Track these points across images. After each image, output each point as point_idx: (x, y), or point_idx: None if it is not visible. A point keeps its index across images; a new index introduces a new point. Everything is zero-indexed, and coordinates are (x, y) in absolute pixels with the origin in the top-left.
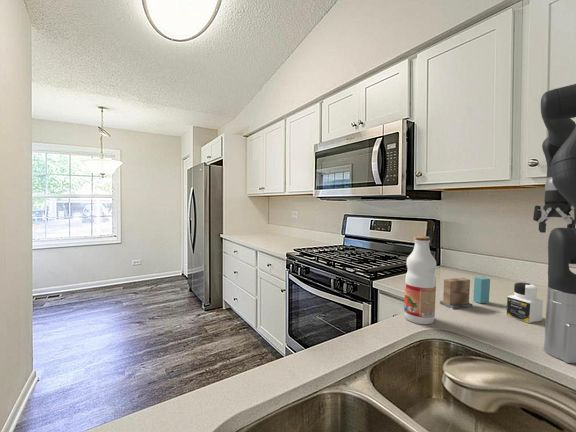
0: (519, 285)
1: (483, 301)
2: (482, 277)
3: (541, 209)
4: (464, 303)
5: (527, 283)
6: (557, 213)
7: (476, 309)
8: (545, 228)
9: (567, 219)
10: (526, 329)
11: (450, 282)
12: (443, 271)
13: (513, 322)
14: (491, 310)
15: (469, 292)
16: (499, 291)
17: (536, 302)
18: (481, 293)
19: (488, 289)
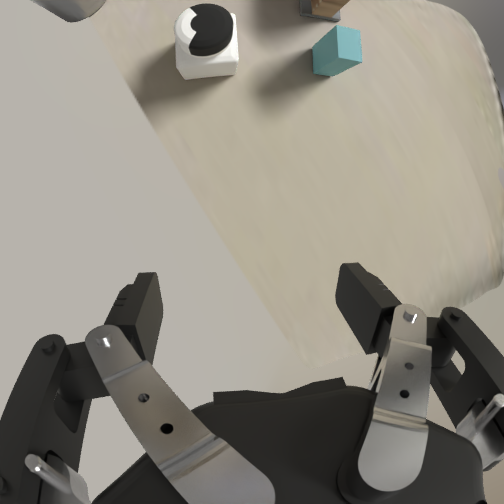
0: (206, 4)
1: (314, 55)
2: (355, 51)
3: (476, 427)
4: (310, 2)
5: (205, 32)
6: (254, 436)
7: (283, 8)
8: (347, 317)
9: (120, 363)
10: (164, 10)
11: None
12: (489, 237)
13: None
14: (268, 31)
15: (320, 3)
16: (371, 206)
17: (175, 42)
18: (320, 40)
19: (325, 61)
